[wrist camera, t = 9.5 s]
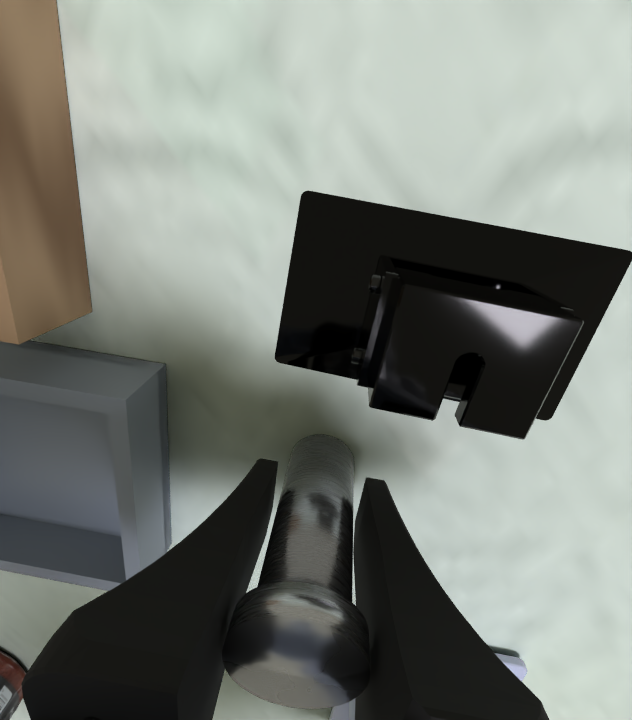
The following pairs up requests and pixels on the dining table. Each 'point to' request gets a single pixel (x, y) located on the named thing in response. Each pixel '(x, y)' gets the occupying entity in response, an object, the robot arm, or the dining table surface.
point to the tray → (82, 464)
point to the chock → (37, 179)
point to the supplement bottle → (10, 685)
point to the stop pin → (305, 592)
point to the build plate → (442, 310)
